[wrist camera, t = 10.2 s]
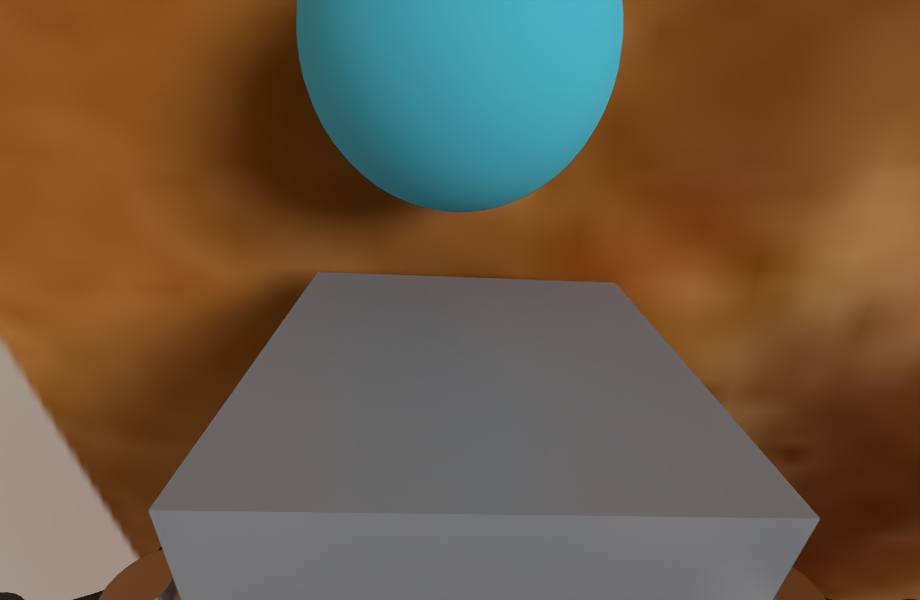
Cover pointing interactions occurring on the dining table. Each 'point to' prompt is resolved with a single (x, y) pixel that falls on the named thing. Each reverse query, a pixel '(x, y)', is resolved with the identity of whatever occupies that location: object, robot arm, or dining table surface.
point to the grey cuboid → (475, 457)
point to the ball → (459, 90)
